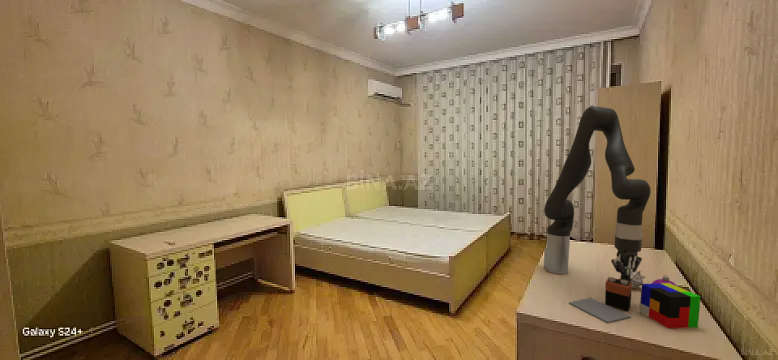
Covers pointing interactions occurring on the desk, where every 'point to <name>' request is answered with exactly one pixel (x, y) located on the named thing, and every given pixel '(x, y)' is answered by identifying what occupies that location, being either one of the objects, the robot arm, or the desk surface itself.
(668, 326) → the puzzle toy
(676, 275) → the desk surface
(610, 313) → the mat
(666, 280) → the christmas ornament
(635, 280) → the game die
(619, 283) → the battery
